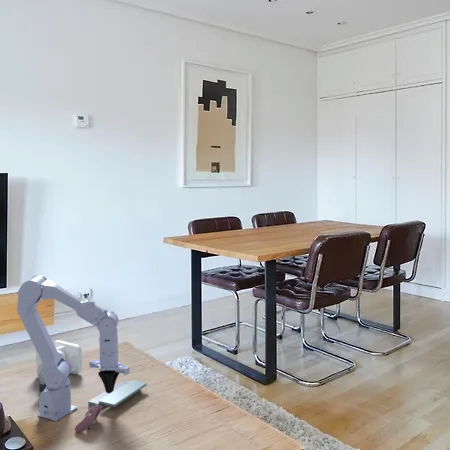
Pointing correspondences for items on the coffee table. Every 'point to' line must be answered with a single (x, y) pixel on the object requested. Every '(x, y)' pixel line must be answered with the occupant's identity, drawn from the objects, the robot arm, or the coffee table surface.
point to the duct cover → (122, 393)
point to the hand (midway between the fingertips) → (109, 391)
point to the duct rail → (104, 394)
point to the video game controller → (89, 418)
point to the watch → (41, 379)
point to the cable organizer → (66, 355)
